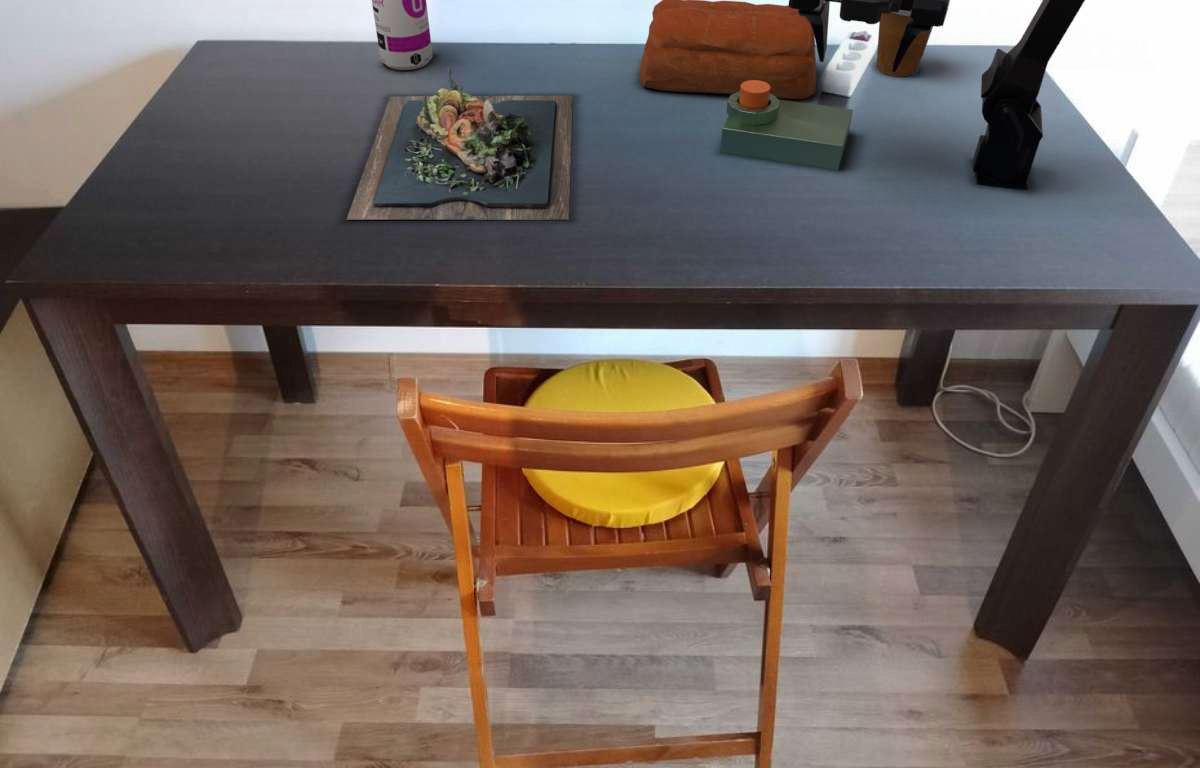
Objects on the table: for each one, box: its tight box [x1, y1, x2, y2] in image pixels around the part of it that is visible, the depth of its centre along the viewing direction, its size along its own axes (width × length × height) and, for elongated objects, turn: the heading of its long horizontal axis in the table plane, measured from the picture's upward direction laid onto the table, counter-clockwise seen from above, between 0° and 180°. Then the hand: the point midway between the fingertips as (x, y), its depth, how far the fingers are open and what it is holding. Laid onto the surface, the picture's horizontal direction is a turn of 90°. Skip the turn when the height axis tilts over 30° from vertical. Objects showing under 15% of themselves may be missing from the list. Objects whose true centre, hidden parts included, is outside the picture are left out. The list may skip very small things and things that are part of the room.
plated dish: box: [346, 66, 574, 221], centre depth 132 cm, size 35×28×7 cm
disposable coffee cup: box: [876, 10, 934, 77], centre depth 150 cm, size 10×10×12 cm
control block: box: [719, 91, 854, 172], centre depth 134 cm, size 16×11×6 cm
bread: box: [638, 0, 817, 100], centre depth 148 cm, size 16×27×11 cm, turn 81°
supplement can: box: [371, 0, 433, 71], centre depth 151 cm, size 8×8×15 cm
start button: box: [739, 80, 770, 109], centre depth 133 cm, size 4×4×3 cm
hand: (857, 65), depth 126 cm, fingers open, 9 cm apart
